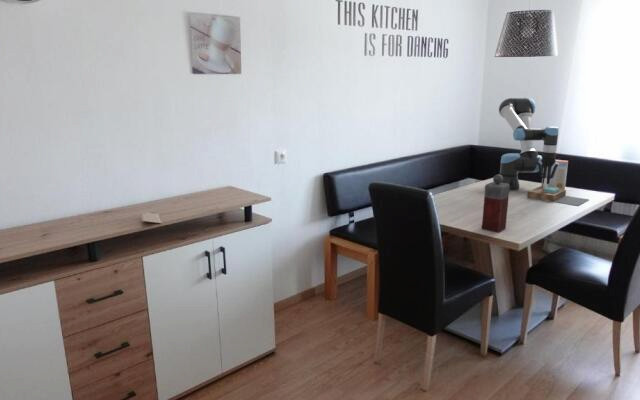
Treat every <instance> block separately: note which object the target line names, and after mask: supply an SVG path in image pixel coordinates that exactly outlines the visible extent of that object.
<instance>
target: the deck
mask: <svg viewBox="0 0 640 400" xmlns="http://www.w3.org/2000/svg"><path fill="white" fill-rule="evenodd" d="M566 193H567V189H565V190H562V189H559V191H558V192H556V193H548V192H544V189H543V186H537V187H535V188H533V189H530V190H528V191H527V198H528V199H534V200H539V201H541V200H542V201H546V202H551V203H555V202H554V201H556V200H558V199H560V198H562V197H564V196H567V195H566Z"/></svg>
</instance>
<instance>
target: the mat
mask: <svg viewBox="0 0 640 400" xmlns="http://www.w3.org/2000/svg"><path fill="white" fill-rule="evenodd" d="M588 201H590V199H588V198H582V197H576V196H570V195H565V196H564V197H562V198H560V199H558V200H556V201H554V202H553V203H557V204H558V203H559V204H563V205H564V204H565V205H569V206H570V205H571V206H576V207H579V206H581V205H583V204H585V203H586V202H588Z"/></svg>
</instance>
